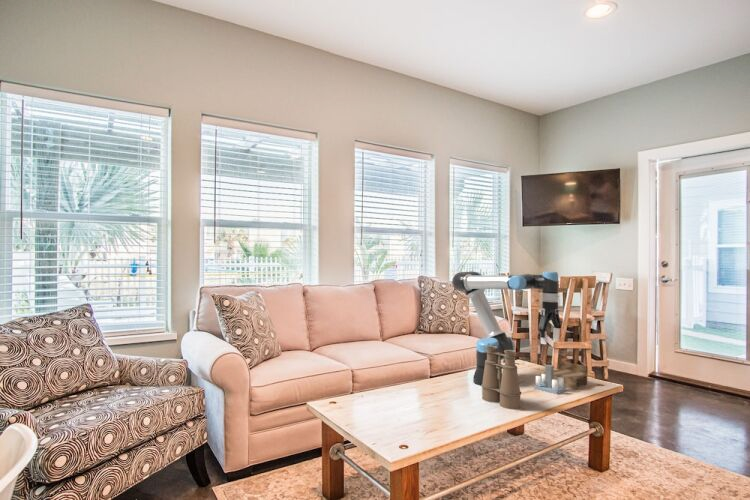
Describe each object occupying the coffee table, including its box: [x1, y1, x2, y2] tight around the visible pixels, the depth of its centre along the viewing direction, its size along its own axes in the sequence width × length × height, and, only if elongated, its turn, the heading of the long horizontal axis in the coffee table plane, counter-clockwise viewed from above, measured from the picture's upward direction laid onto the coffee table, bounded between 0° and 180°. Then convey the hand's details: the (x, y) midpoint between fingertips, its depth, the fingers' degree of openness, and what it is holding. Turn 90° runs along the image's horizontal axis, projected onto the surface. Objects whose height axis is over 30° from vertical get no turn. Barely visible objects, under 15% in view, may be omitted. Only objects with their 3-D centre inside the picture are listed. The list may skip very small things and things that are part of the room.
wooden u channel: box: [554, 361, 588, 391], centre depth 226 cm, size 14×15×10 cm
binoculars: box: [480, 346, 522, 410], centre depth 197 cm, size 21×10×25 cm, turn 34°
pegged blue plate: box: [533, 364, 567, 395], centre depth 216 cm, size 12×10×12 cm
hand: (549, 342), depth 216 cm, fingers open, 13 cm apart
